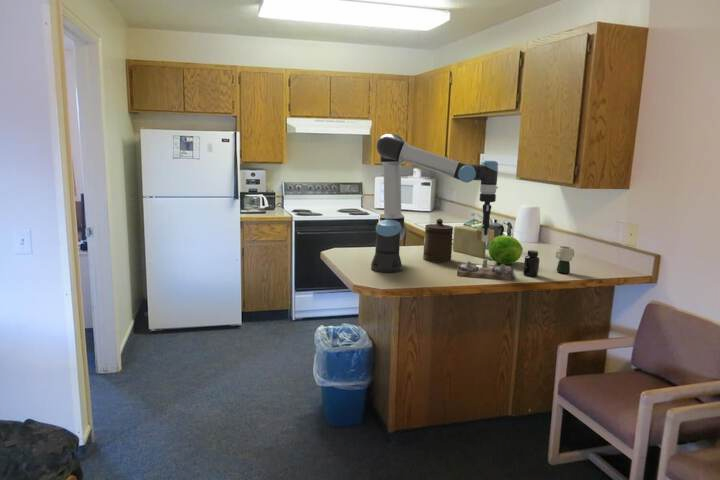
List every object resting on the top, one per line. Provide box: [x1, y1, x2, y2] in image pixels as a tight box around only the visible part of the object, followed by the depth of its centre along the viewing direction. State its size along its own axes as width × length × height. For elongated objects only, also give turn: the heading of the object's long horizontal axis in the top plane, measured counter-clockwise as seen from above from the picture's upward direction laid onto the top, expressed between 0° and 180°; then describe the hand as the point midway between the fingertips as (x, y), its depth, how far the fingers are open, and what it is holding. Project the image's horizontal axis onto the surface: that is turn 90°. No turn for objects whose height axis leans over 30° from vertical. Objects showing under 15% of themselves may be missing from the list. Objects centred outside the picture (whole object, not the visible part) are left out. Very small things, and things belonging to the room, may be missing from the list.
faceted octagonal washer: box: [476, 228, 494, 242], centre depth 250 cm, size 8×8×5 cm
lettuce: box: [487, 234, 524, 265], centre depth 271 cm, size 17×20×15 cm
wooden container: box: [422, 218, 454, 263], centre depth 273 cm, size 15×15×22 cm
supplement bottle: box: [522, 249, 540, 278], centre depth 248 cm, size 7×7×12 cm
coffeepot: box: [486, 219, 505, 251], centre depth 305 cm, size 15×9×18 cm, turn 19°
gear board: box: [456, 258, 515, 281], centre depth 250 cm, size 26×20×6 cm
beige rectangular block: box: [452, 225, 487, 259], centre depth 291 cm, size 22×10×15 cm, turn 29°
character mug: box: [555, 245, 575, 274], centre depth 256 cm, size 11×7×13 cm, turn 109°
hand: (484, 239), depth 250 cm, fingers closed on faceted octagonal washer, 8 cm apart
